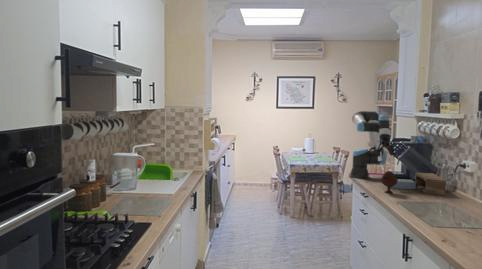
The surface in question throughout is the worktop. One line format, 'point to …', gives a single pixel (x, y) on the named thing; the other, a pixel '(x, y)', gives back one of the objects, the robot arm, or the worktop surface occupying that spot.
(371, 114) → the robot arm
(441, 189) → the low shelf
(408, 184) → the grey slate tile
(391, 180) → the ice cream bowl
